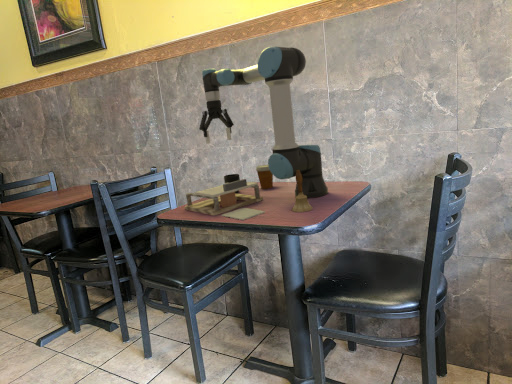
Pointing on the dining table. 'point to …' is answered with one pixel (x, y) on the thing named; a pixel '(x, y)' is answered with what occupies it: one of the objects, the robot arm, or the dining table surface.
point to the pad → (243, 213)
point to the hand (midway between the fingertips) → (219, 141)
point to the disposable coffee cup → (265, 176)
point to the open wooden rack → (216, 201)
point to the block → (228, 199)
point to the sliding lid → (226, 188)
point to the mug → (232, 179)
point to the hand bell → (301, 197)
